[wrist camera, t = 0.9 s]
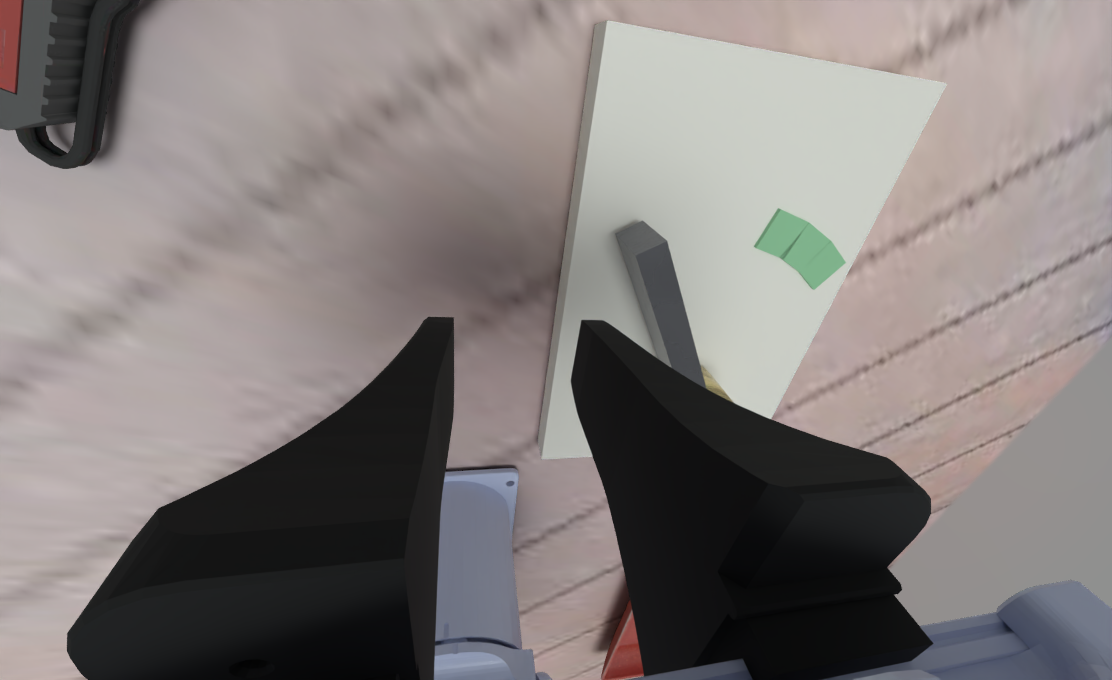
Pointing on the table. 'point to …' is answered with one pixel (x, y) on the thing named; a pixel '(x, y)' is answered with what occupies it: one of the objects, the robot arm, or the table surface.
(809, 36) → the table surface
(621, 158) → the dial board
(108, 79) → the walkie-talkie
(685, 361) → the dial lever
